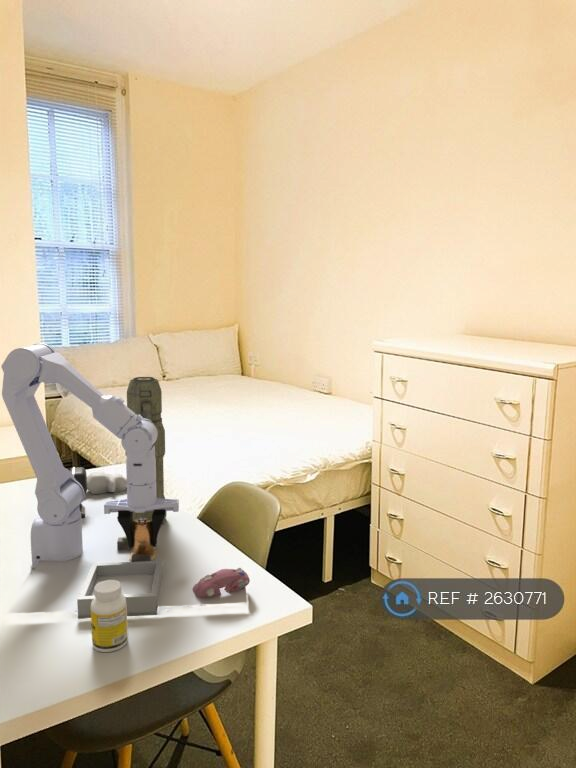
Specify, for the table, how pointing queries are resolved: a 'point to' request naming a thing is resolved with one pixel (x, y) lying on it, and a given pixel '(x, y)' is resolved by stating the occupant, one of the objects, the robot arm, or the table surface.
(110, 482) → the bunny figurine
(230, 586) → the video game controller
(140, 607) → the tray
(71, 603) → the table surface
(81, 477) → the battery charger
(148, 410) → the thermos
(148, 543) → the cell
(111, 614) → the supplement bottle
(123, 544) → the brown stand base
